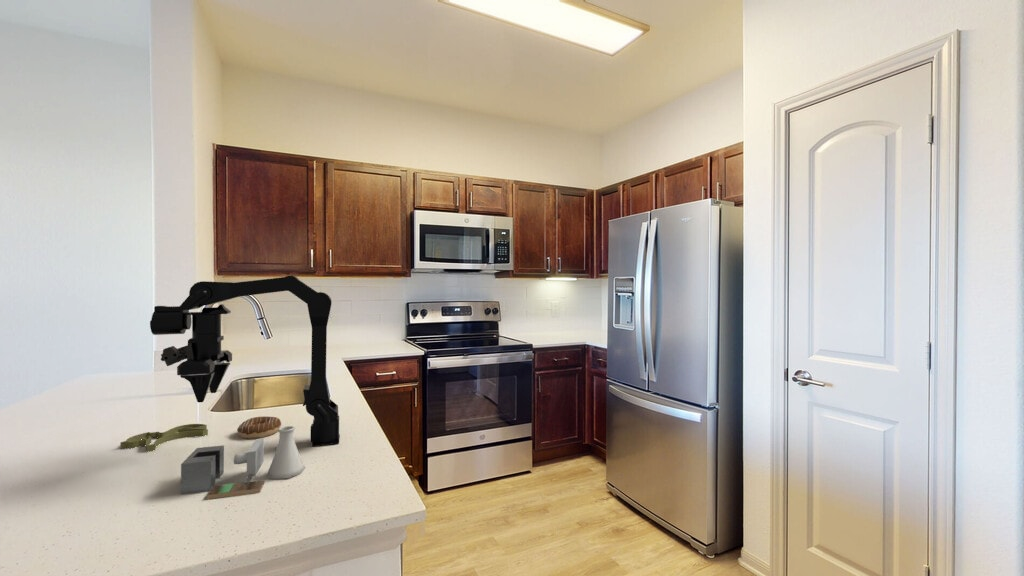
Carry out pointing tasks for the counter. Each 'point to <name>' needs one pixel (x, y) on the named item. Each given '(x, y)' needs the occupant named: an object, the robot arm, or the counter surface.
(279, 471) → the flask
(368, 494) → the counter surface
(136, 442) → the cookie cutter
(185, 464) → the gauge housing
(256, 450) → the gauge plunger
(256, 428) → the donut
